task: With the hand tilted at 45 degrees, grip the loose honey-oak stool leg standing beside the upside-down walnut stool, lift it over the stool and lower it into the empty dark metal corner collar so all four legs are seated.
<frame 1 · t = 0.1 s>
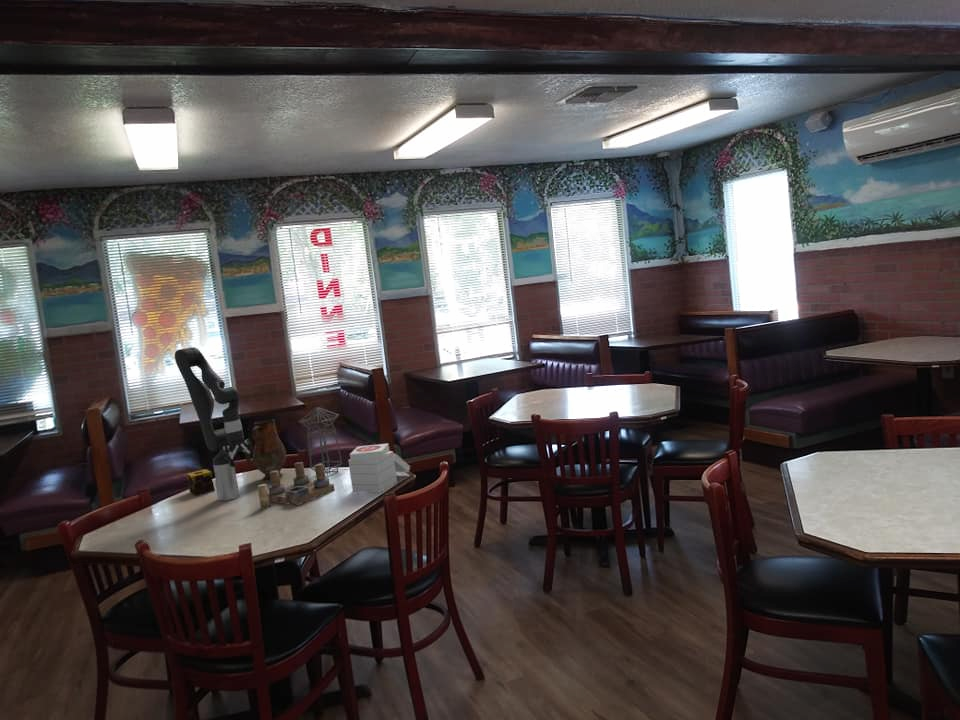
hand: (240, 464, 339), 17 cm above the table, tool pointing down, fingers open, 8 cm apart
stool: (300, 495, 338), on the table
yellow and brown cube: (202, 492, 367), on the table
pitcher: (271, 479, 377), on the table
pizza box stack: (381, 483, 344), on the table
geometric lantern: (327, 475, 372), on the table
loose leg: (265, 507, 326), on the table
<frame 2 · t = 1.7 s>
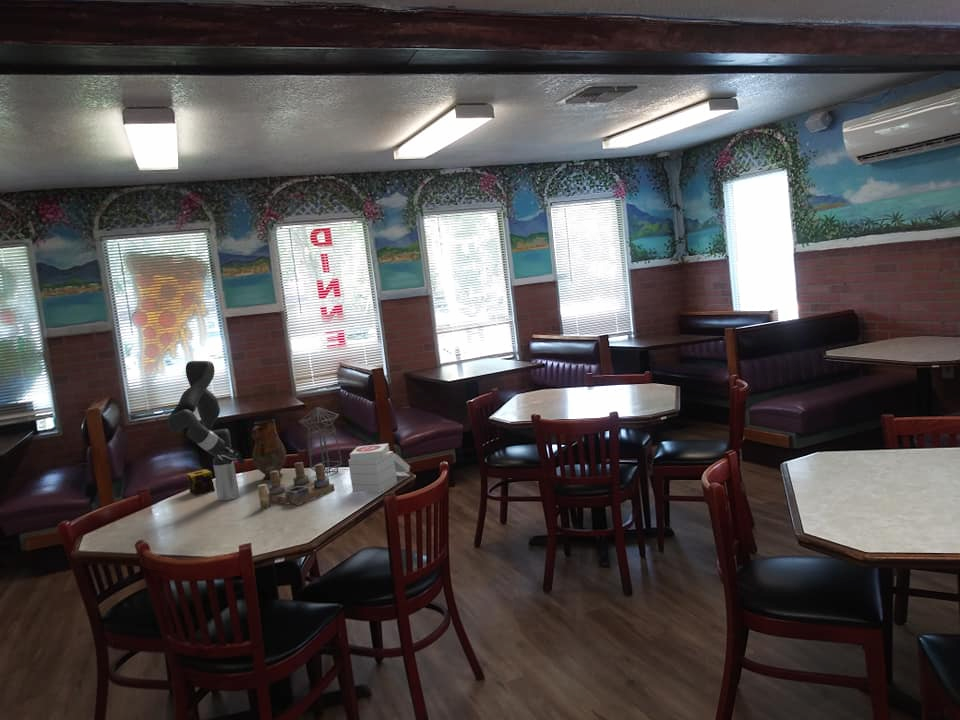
hand: (237, 462, 315), 23 cm above the table, tool tilted 45°, fingers open, 8 cm apart
nothing on the table moved.
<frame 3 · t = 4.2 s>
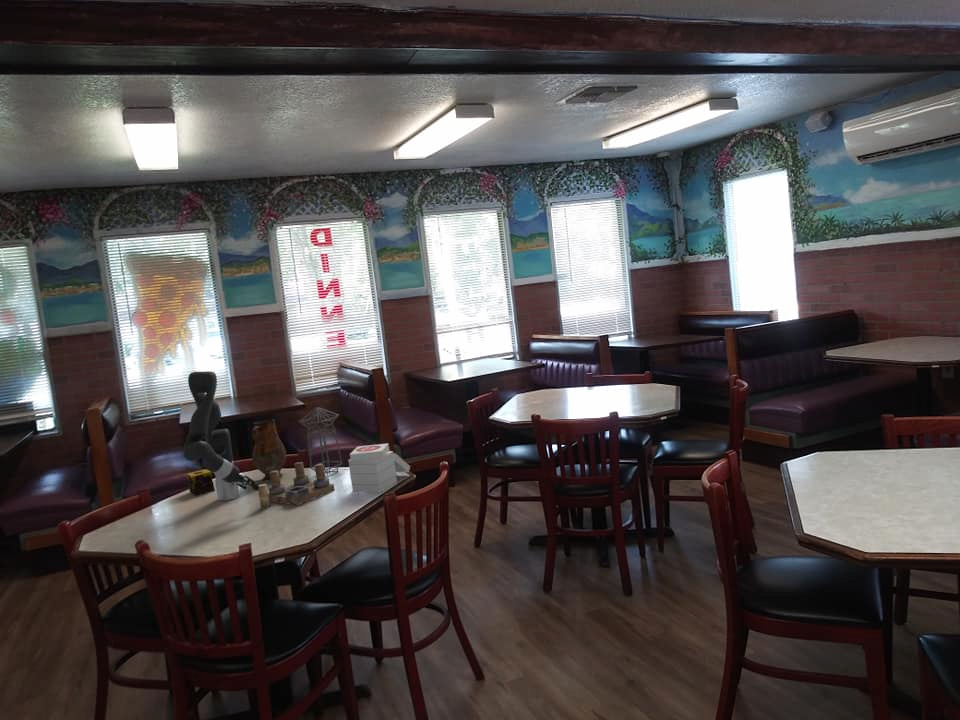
hand: (252, 488, 321), 10 cm above the table, tool tilted 45°, fingers open, 8 cm apart
nothing on the table moved.
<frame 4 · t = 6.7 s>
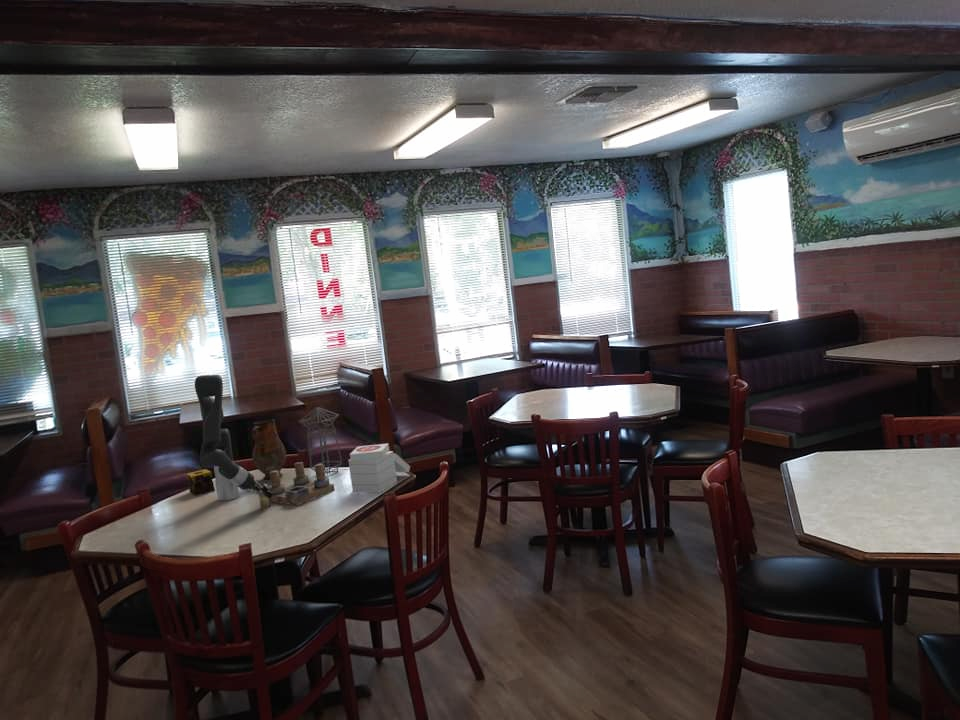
hand: (267, 495, 327), 5 cm above the table, tool tilted 45°, fingers closed on loose leg, 4 cm apart
loose leg: (265, 507, 326), on the table, touching gripper
everything else where it was.
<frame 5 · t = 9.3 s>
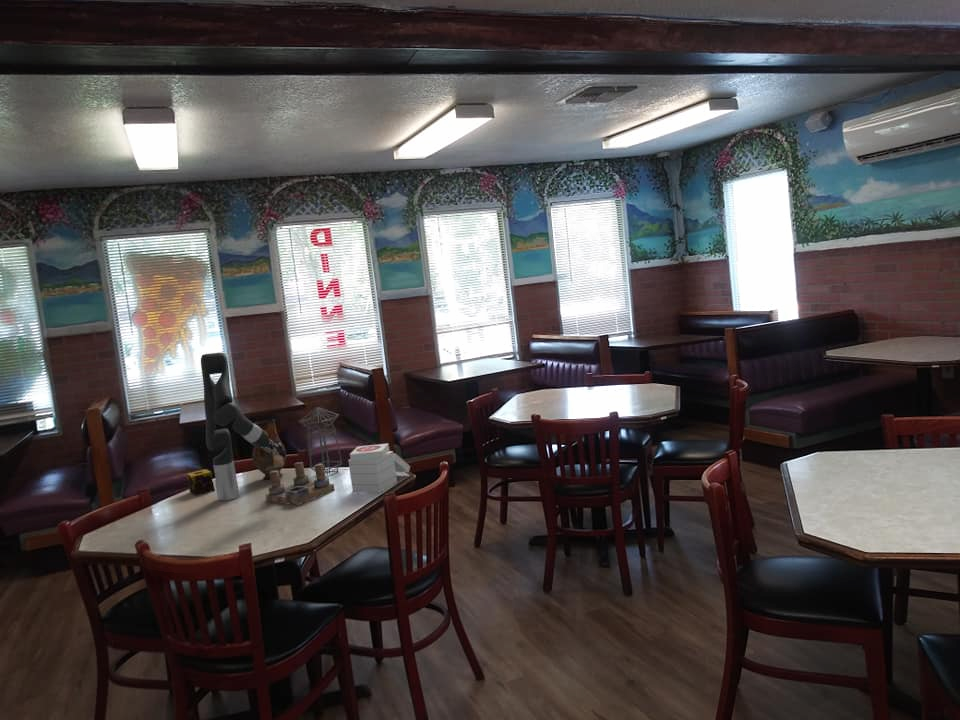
hand: (281, 454, 326), 22 cm above the table, tool tilted 45°, fingers closed on loose leg, 4 cm apart
loose leg: (279, 466, 325), point 18 cm above the table, touching gripper
everything else where it was.
when the fingers open (9 cm above the table, at t = 12.1 s): loose leg drops 1 cm, resting on stool.
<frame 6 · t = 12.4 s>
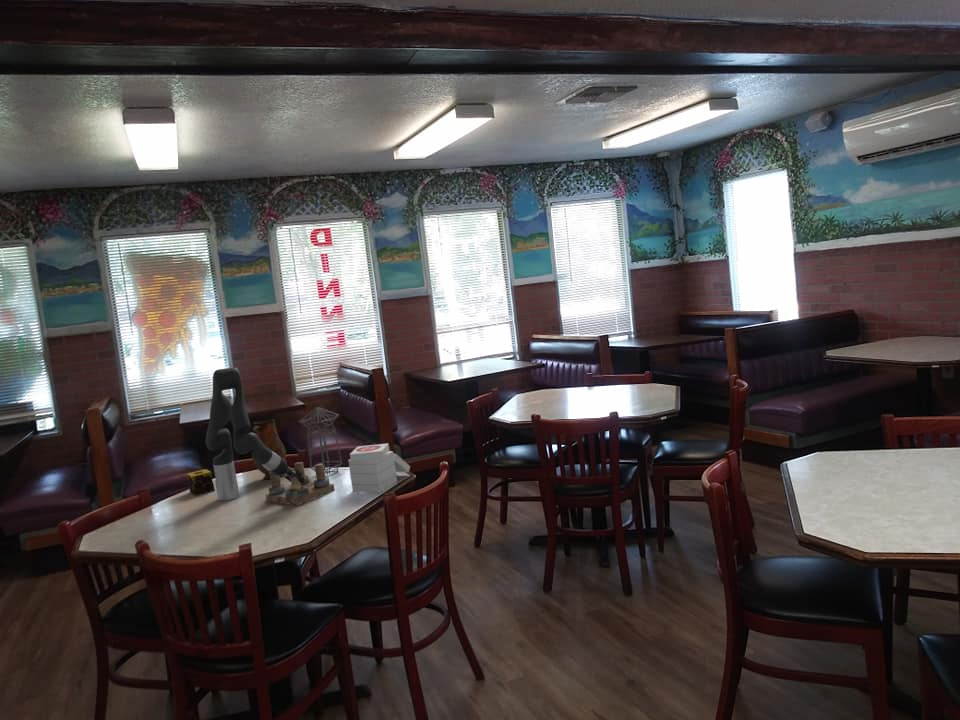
hand: (298, 481, 328), 9 cm above the table, tool tilted 45°, fingers open, 6 cm apart
loose leg: (297, 495, 328), point 3 cm above the table, touching stool
everything else where it was.
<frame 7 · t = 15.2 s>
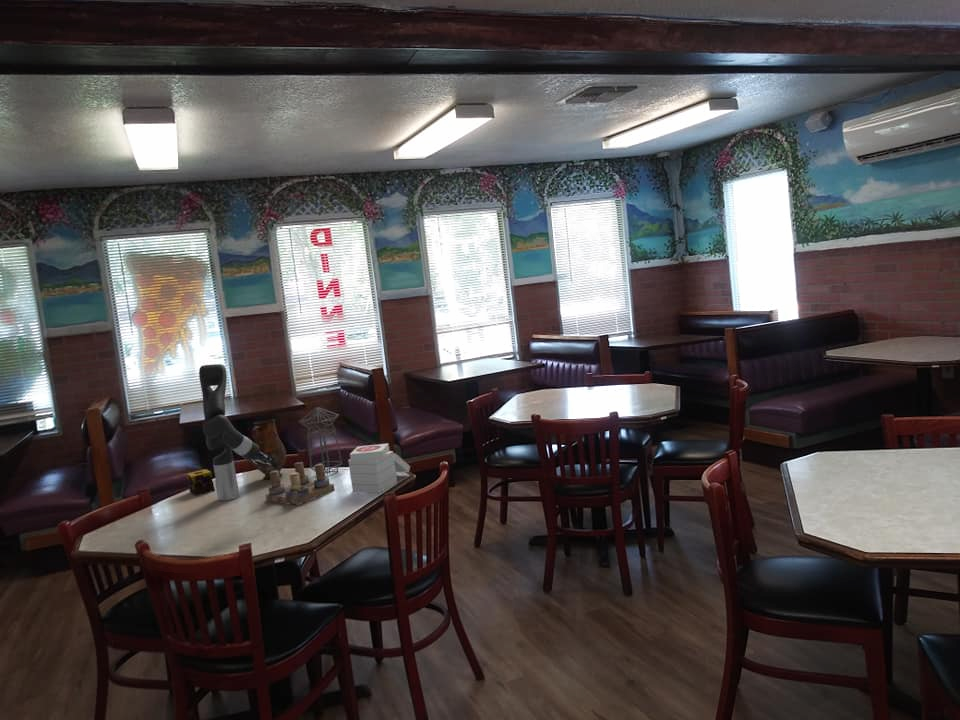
hand: (270, 466, 317), 20 cm above the table, tool tilted 45°, fingers open, 8 cm apart
nothing on the table moved.
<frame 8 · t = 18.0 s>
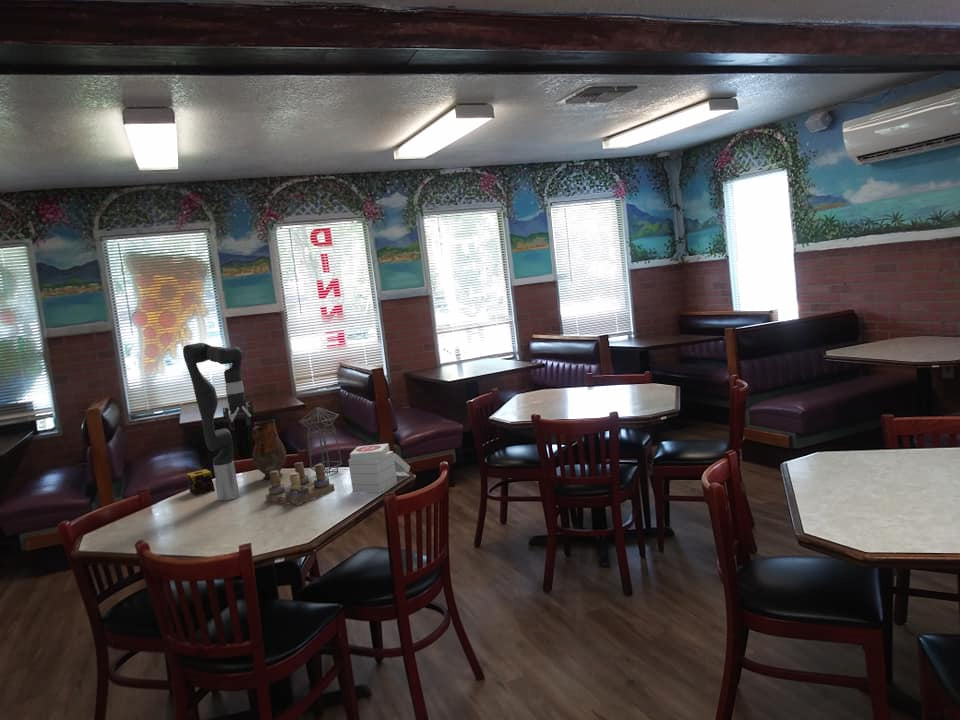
hand: (240, 427, 327), 36 cm above the table, tool pointing down, fingers open, 8 cm apart
nothing on the table moved.
at the end: loose leg 0.1 cm from the target spot on the stool, point 3.0 cm above the stool's base; loose leg tilted 0°; the gripper is holding nothing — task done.
